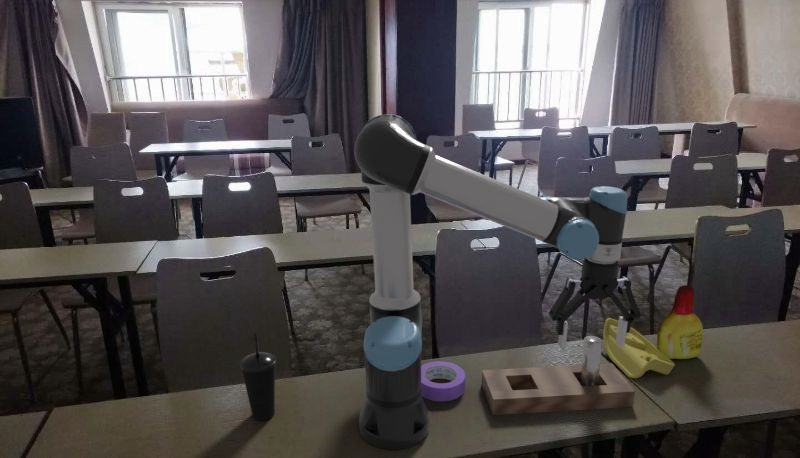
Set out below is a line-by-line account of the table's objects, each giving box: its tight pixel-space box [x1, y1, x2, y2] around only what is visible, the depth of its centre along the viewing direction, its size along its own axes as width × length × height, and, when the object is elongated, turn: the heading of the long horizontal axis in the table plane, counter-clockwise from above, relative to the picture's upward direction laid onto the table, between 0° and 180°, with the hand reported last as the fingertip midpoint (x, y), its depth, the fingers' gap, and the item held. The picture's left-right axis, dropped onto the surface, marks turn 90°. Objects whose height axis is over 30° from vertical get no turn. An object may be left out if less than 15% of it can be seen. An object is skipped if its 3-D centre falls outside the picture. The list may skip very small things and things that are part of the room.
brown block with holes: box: [481, 362, 636, 416], centre depth 132 cm, size 32×12×4 cm, turn 94°
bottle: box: [656, 284, 704, 360], centre depth 146 cm, size 12×6×20 cm, turn 95°
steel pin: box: [580, 335, 603, 387], centre depth 131 cm, size 4×4×14 cm
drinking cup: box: [239, 333, 277, 422], centre depth 125 cm, size 8×8×20 cm
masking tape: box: [421, 360, 466, 402], centre depth 137 cm, size 12×12×4 cm
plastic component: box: [602, 317, 676, 379], centre depth 148 cm, size 20×7×10 cm
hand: (590, 345), depth 130 cm, fingers open, 13 cm apart
